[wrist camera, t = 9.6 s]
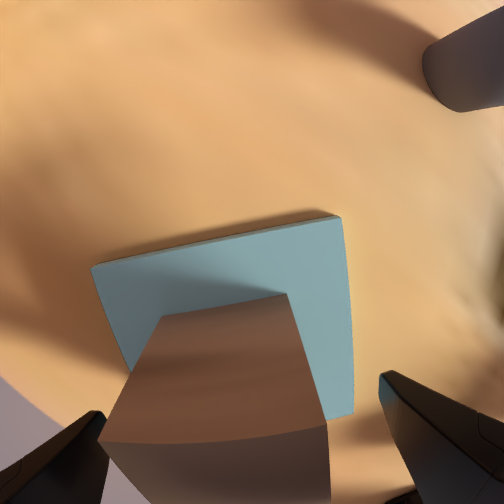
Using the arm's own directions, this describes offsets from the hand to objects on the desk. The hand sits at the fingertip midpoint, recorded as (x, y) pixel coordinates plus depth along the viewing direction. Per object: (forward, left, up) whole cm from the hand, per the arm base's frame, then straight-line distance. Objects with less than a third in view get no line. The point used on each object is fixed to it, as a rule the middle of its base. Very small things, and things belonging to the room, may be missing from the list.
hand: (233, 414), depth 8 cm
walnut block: (0, 0, -3) cm, 3 cm away
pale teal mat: (0, 0, -4) cm, 4 cm away
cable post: (+10, -11, -4) cm, 15 cm away
